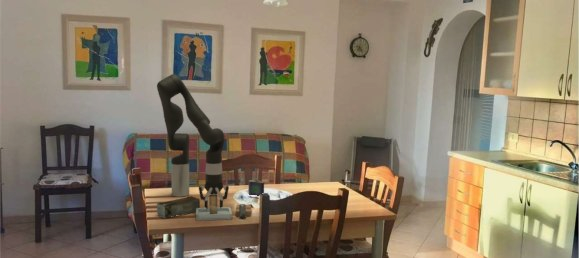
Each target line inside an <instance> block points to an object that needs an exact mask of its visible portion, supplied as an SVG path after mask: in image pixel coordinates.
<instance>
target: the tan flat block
mask: <svg viewBox="0 0 579 258" xmlns="http://www.w3.org/2000/svg"><path fill="white" fill-rule="evenodd" d="M239 205H240V204H237V205H236V207H235V218H239ZM245 205H246V218H250V217H251V216H252V205H251V204H245Z"/></svg>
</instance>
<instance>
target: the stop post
mask: <svg viewBox="0 0 579 258" xmlns="http://www.w3.org/2000/svg"><path fill="white" fill-rule="evenodd" d="M238 205H239V217H238V218H239V219H241V220H243V219H246V218H247V217H246V205H247V204H243V203H240V204H238Z"/></svg>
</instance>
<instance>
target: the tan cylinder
mask: <svg viewBox="0 0 579 258" xmlns="http://www.w3.org/2000/svg"><path fill="white" fill-rule="evenodd" d="M208 199H209V200H208V203H209V204H208V206H209V208H210V214H217V208H218V194H210V195H209V197H208Z"/></svg>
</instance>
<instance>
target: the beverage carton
mask: <svg viewBox="0 0 579 258" xmlns="http://www.w3.org/2000/svg"><path fill="white" fill-rule="evenodd" d="M200 204H201V198H198V197H195V196H192V195H190V196H189V195H187V196H184V197H181V198H178V199H172V200H168V201H163V202H159V203H156V214H158V215H160V216H162V217H164V218H163V219H165V218H167V217H171V216H176V215H180V216H183V215H182V214H184V215H187V214H186V213H188V214H193V213H196V208H201V205H200ZM158 215H157V216H158ZM160 216H159V217H160ZM162 217H161V218H162ZM176 217H177V216H176ZM171 218H172V217H171ZM167 219H168V218H167Z"/></svg>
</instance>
